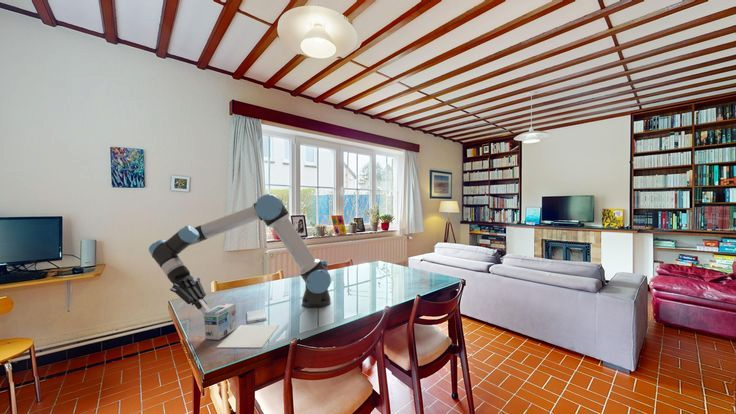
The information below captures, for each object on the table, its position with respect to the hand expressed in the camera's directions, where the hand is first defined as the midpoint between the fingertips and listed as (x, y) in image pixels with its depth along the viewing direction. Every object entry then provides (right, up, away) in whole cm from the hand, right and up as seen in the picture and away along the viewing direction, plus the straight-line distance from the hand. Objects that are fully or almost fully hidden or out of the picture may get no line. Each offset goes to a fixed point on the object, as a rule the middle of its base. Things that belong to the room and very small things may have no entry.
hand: (207, 313), depth 116 cm
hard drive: (+14, -9, +16) cm, 23 cm away
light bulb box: (+7, -8, -2) cm, 11 cm away
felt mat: (+19, -8, -3) cm, 21 cm away
